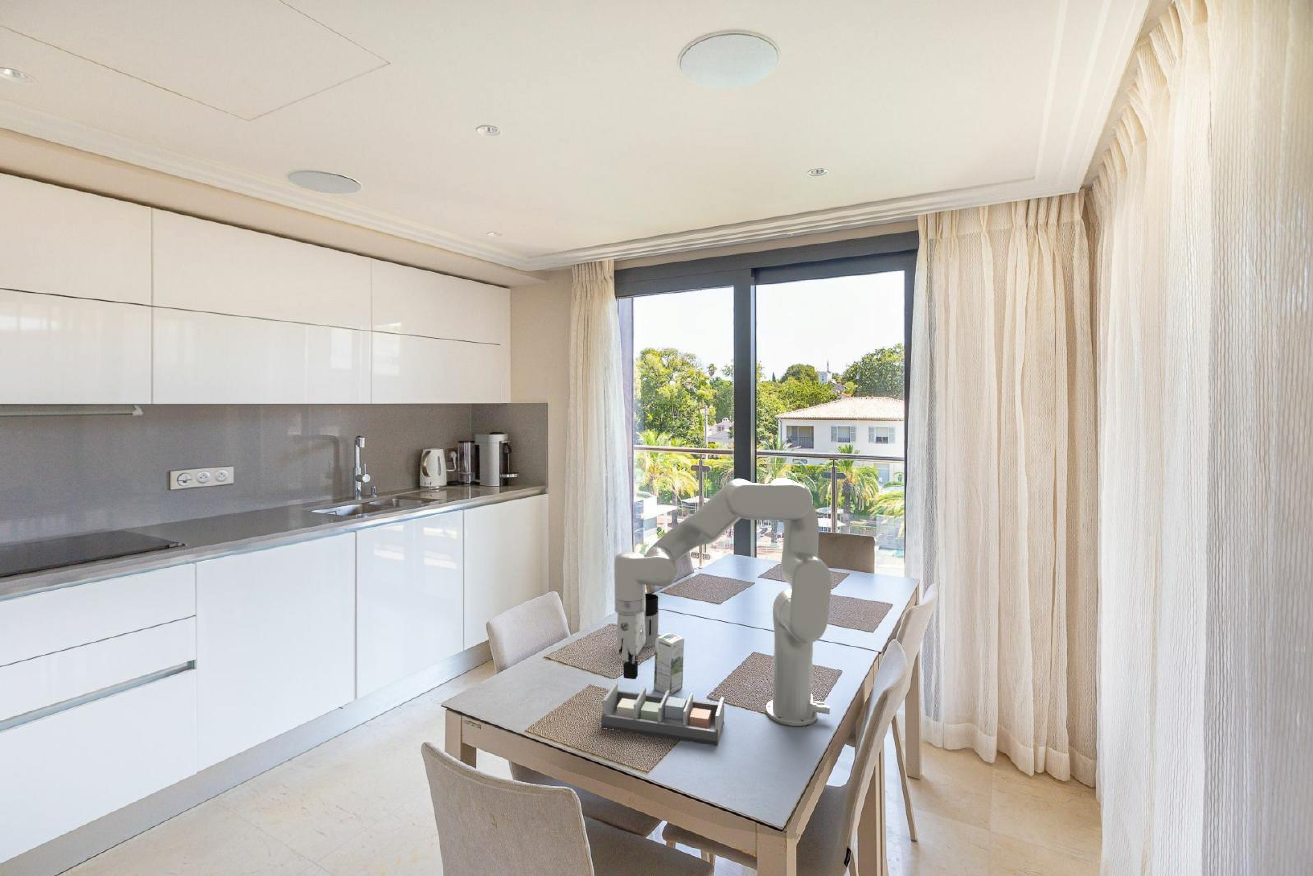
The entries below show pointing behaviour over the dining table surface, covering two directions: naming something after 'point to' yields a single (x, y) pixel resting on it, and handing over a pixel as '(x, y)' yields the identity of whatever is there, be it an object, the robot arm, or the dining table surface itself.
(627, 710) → the cream block
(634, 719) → the slotted cube rack
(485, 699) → the dining table surface
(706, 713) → the light orange square block
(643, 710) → the key sage
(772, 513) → the robot arm
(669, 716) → the pale blue block
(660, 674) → the syrup box
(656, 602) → the glass holder
